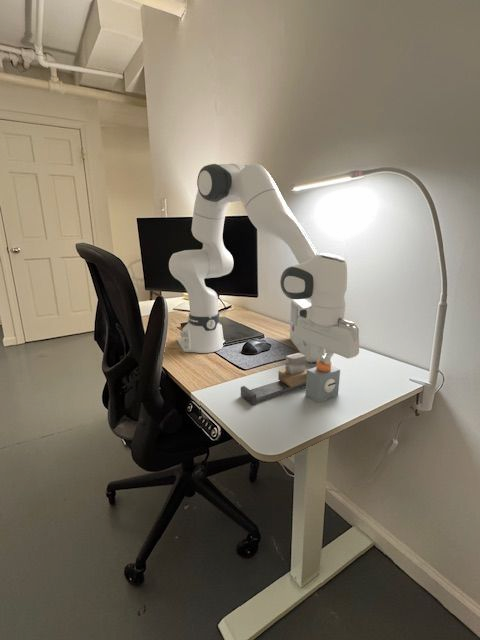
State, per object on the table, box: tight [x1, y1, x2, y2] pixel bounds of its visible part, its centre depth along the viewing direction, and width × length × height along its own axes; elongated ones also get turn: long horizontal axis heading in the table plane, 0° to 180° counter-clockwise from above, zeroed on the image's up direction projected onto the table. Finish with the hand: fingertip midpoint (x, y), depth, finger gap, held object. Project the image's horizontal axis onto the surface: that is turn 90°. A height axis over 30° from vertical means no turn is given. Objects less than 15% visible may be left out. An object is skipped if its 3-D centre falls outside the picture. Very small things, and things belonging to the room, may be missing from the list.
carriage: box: [277, 352, 309, 387], centre depth 100 cm, size 6×8×8 cm
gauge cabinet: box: [305, 365, 341, 403], centre depth 94 cm, size 6×8×8 cm
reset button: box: [315, 361, 332, 372], centre depth 93 cm, size 4×4×2 cm
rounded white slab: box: [289, 299, 325, 363], centre depth 128 cm, size 29×8×18 cm, turn 6°
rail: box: [240, 380, 306, 406], centre depth 98 cm, size 6×24×3 cm, turn 122°
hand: (324, 362), depth 92 cm, fingers closed, pressing on reset button
